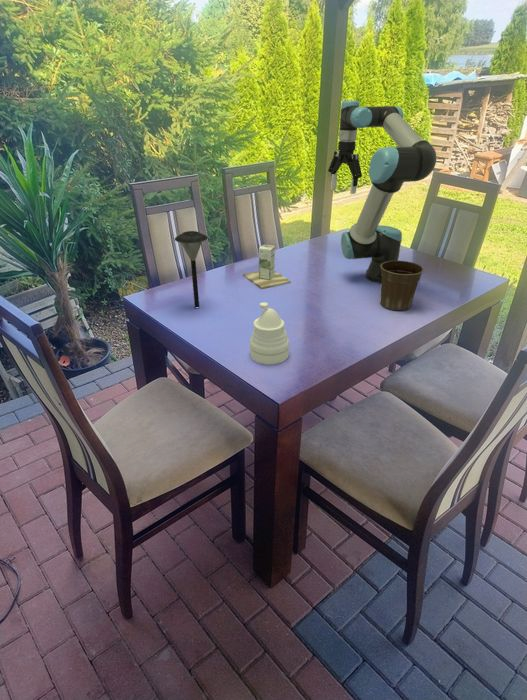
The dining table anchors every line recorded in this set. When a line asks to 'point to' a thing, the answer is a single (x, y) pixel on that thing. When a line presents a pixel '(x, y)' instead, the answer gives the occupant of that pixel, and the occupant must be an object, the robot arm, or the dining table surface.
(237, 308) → the dining table surface
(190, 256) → the solar garden light
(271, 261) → the syrup box
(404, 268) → the plant pot
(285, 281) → the birch board
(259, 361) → the honey pot
